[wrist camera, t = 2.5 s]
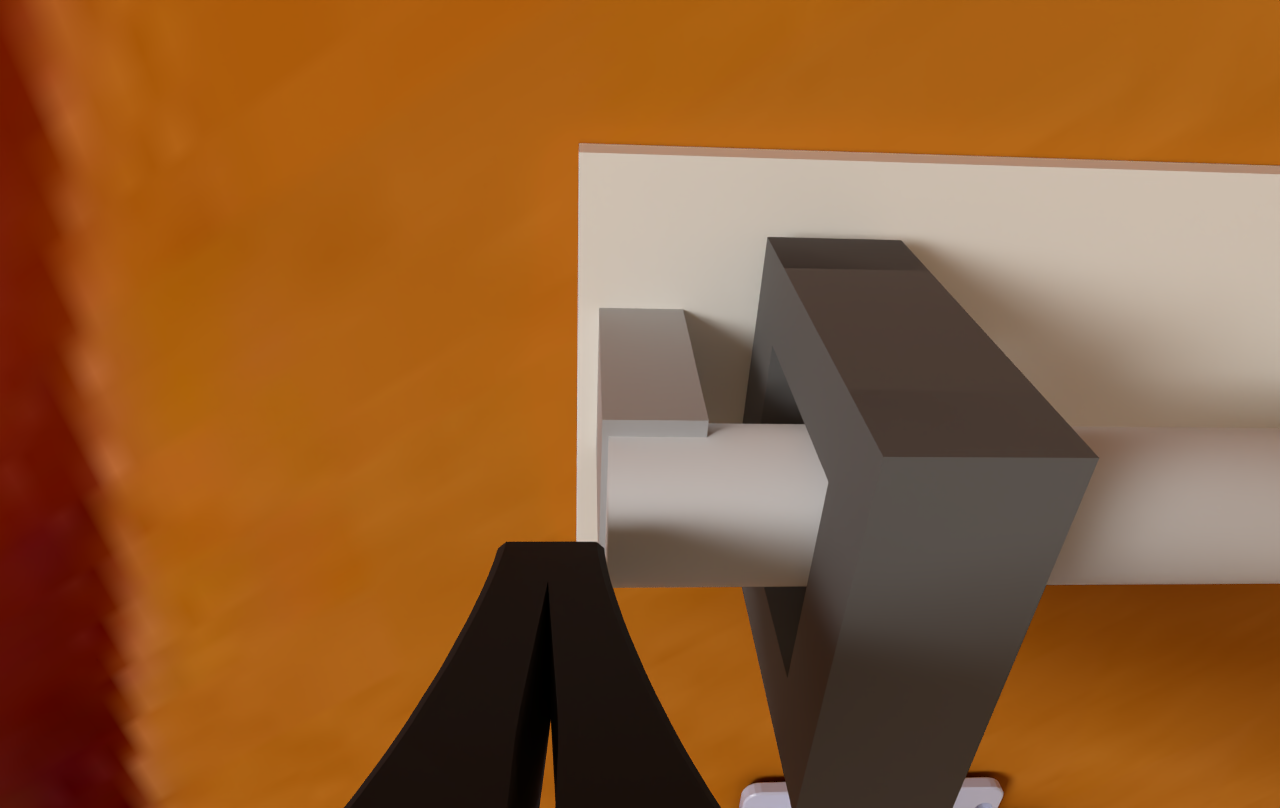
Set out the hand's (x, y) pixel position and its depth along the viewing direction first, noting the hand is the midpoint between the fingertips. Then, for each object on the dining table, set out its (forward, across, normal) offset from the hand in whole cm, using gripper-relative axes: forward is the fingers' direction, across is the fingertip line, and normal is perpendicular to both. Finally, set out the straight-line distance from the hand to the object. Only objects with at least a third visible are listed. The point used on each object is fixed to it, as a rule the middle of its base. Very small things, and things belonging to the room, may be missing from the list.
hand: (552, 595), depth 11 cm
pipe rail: (+6, -11, 0) cm, 13 cm away
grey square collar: (+5, -5, 0) cm, 7 cm away
